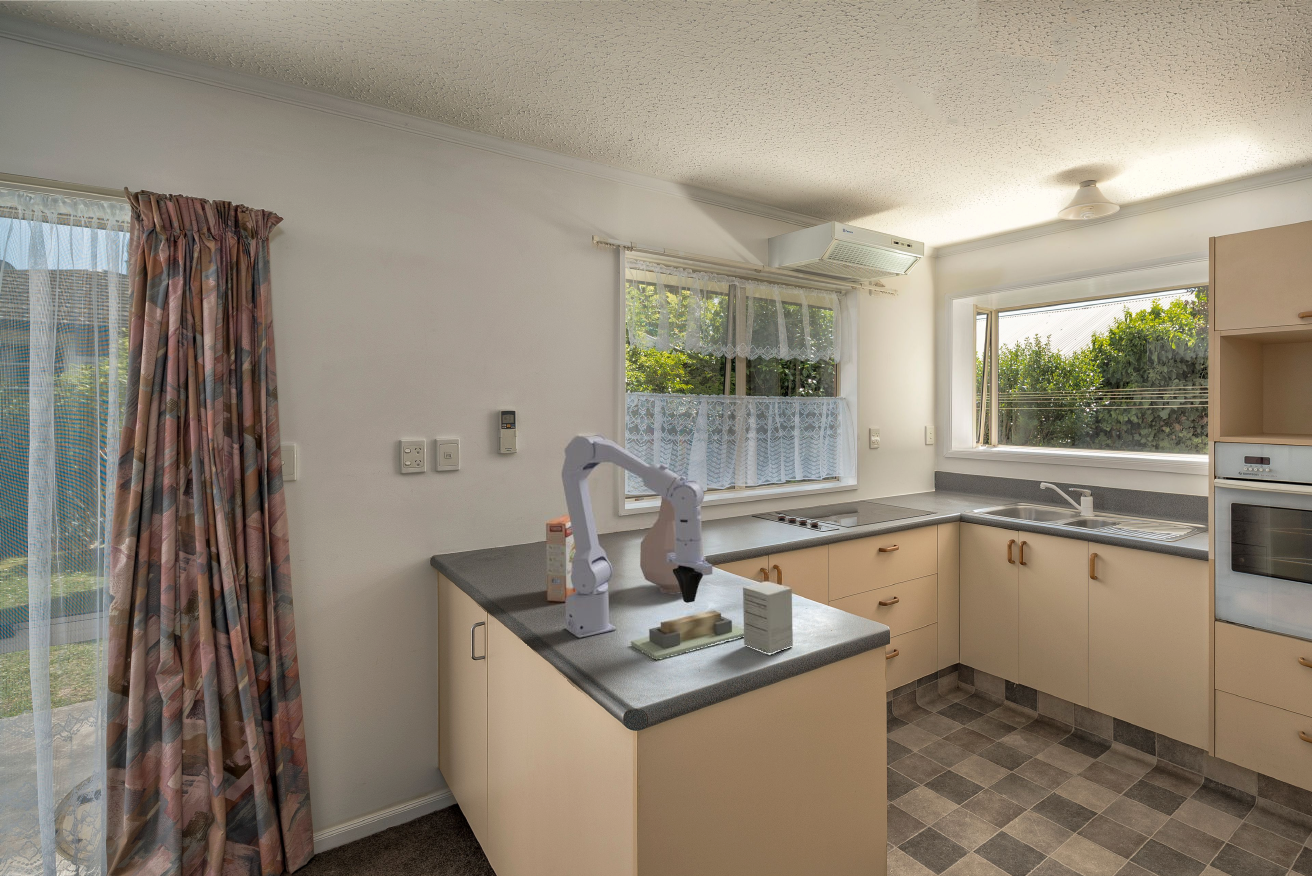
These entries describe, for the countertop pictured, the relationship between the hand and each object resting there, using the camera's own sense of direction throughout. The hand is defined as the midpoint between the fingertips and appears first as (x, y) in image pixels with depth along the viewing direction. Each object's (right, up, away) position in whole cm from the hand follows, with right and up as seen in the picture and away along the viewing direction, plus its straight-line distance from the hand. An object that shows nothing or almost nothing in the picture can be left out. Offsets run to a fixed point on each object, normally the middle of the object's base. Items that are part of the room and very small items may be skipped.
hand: (689, 601), depth 136 cm
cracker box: (-32, -8, +36) cm, 49 cm away
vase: (-3, -7, +39) cm, 40 cm away
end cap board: (0, -8, 0) cm, 8 cm away
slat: (+1, -7, 0) cm, 7 cm away
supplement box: (+16, -9, -5) cm, 19 cm away
